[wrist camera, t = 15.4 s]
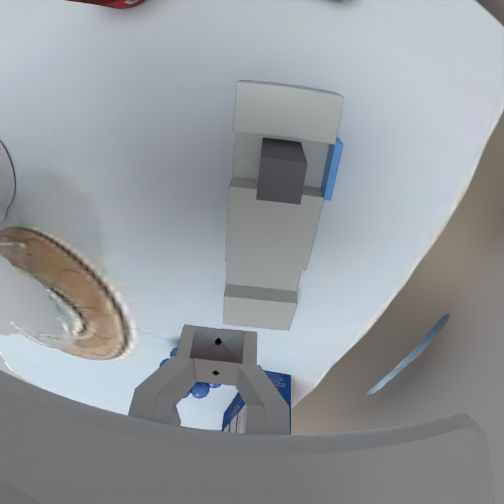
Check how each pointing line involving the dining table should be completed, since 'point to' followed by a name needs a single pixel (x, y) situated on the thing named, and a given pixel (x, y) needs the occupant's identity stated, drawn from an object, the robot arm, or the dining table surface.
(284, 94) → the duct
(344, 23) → the dining table surface
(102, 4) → the canned food
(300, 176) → the dark grey rectangular box
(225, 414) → the pasta box
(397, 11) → the dining table surface
